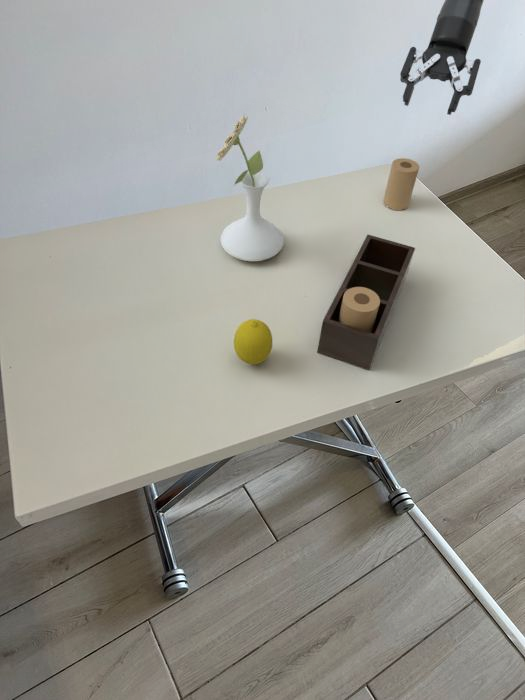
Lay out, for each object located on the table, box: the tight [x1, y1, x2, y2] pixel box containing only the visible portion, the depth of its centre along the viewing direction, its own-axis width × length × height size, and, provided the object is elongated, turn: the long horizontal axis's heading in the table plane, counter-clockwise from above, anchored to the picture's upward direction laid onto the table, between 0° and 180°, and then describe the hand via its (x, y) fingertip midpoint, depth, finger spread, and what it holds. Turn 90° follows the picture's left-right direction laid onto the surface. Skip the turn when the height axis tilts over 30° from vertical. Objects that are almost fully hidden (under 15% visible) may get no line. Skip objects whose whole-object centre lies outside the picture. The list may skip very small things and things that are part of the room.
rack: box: [316, 234, 416, 371], centre depth 84 cm, size 23×8×7 cm, turn 156°
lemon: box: [233, 318, 273, 365], centre depth 76 cm, size 6×6×8 cm
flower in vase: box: [216, 113, 285, 262], centre depth 87 cm, size 13×11×25 cm
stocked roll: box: [338, 287, 380, 333], centre depth 78 cm, size 5×5×9 cm
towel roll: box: [382, 157, 420, 211], centre depth 105 cm, size 5×5×9 cm
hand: (427, 108), depth 104 cm, fingers open, 8 cm apart
